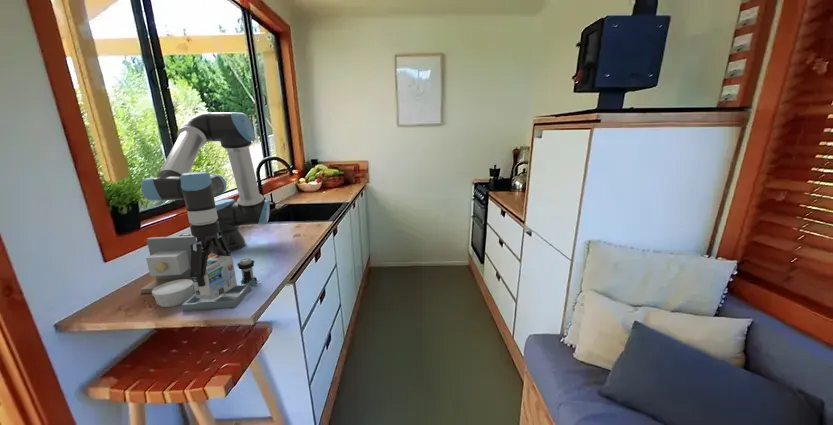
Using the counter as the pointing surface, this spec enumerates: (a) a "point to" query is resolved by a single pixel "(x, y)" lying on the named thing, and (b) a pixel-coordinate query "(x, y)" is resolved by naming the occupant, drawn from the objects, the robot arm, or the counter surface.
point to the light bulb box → (217, 277)
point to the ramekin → (173, 292)
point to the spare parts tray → (218, 300)
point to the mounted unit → (168, 259)
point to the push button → (247, 272)
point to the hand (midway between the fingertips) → (216, 285)
